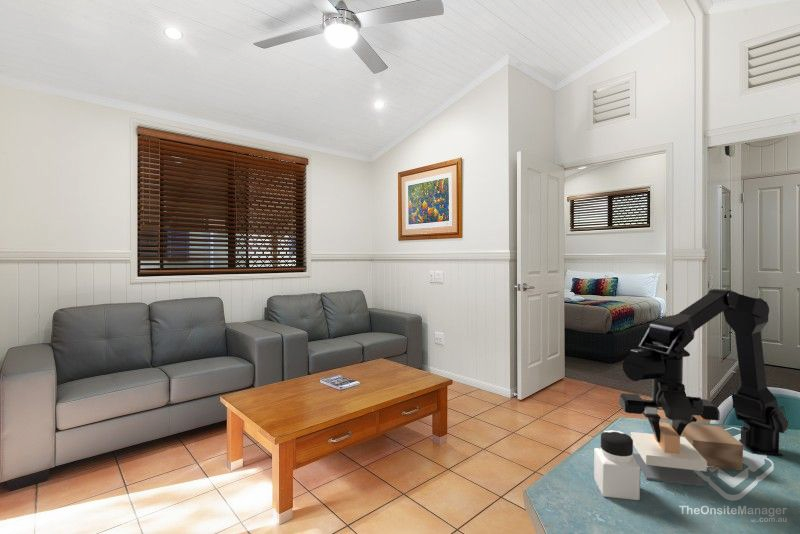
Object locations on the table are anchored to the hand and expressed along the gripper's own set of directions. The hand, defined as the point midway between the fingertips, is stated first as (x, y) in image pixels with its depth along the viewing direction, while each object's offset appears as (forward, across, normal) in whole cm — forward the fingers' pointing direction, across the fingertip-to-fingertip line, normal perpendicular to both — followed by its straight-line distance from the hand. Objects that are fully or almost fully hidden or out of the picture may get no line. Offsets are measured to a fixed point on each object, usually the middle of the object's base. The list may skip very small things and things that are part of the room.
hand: (666, 442), depth 94 cm
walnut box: (+6, +12, +9) cm, 16 cm away
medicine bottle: (+7, -13, -11) cm, 18 cm away
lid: (+2, 0, 0) cm, 2 cm away
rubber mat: (+6, 0, 0) cm, 7 cm away
